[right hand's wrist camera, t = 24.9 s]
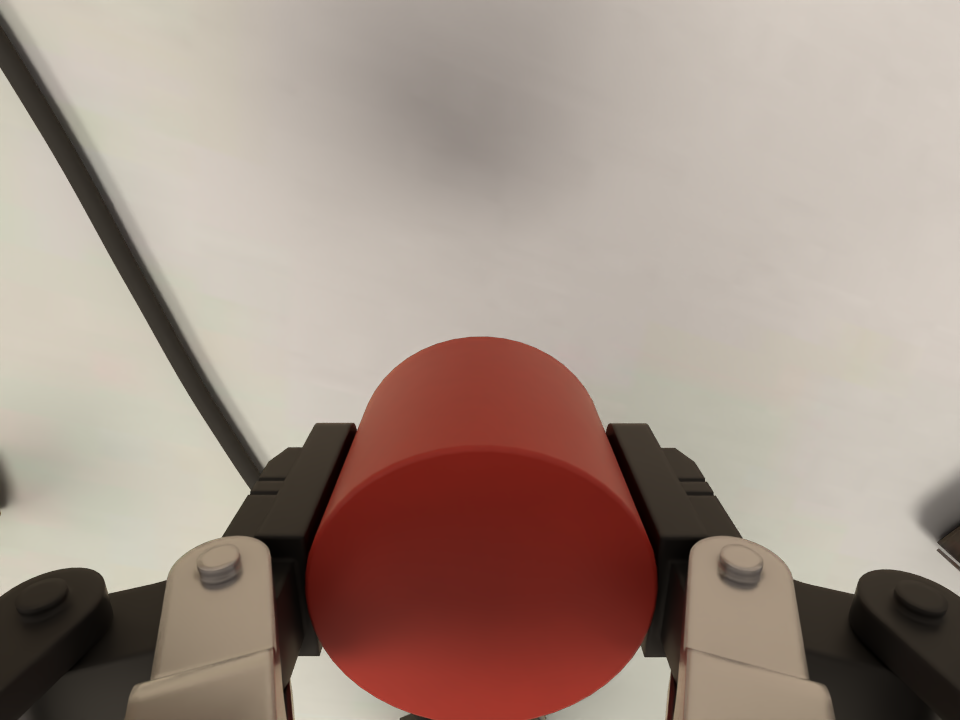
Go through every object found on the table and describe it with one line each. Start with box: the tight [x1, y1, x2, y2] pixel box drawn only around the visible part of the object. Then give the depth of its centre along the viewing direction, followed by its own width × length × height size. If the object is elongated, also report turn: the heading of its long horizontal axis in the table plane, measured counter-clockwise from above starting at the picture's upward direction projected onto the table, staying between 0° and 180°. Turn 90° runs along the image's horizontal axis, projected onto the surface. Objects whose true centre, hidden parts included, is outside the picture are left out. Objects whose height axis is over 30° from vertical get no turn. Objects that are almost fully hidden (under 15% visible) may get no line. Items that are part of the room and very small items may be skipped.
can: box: [305, 337, 658, 720], centre depth 10 cm, size 5×5×4 cm
